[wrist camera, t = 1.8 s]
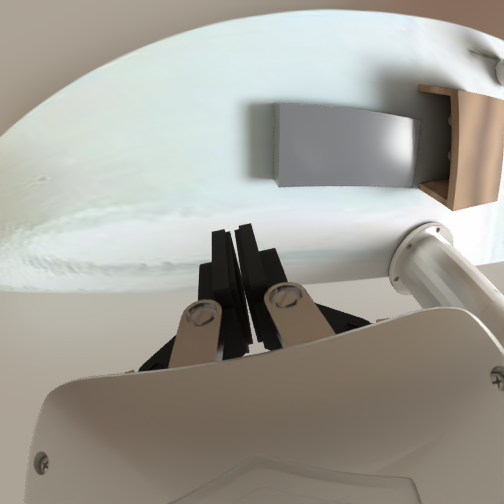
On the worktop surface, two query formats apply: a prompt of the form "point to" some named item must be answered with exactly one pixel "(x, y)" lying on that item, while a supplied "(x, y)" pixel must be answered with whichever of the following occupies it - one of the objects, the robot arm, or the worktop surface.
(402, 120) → the board
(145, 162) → the worktop surface
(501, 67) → the salt shaker
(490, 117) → the open wooden box
